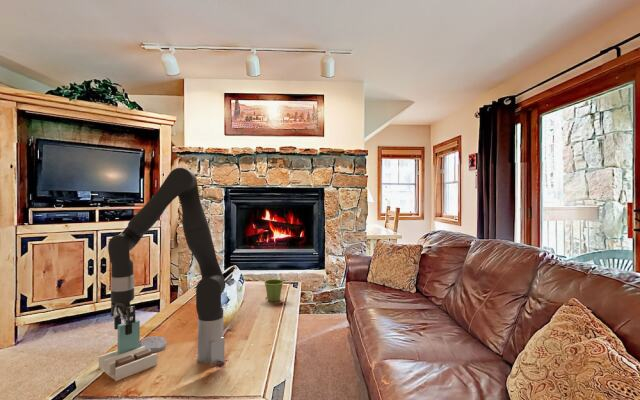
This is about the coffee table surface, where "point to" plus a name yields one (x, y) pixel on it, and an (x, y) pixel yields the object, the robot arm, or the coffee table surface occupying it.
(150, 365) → the rack
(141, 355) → the offcut
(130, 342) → the sheet
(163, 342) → the stone block
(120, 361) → the offcut
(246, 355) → the coffee table surface
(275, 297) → the plant pot
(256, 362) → the coffee table surface
